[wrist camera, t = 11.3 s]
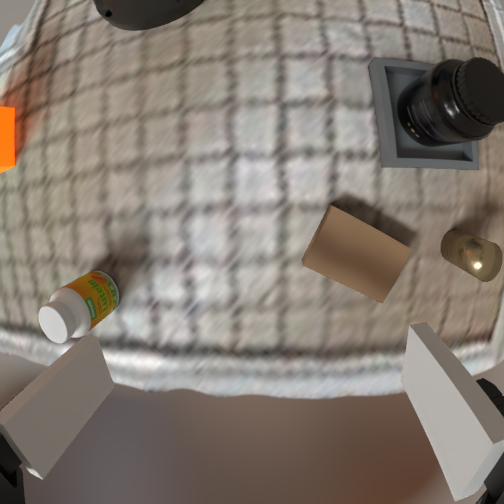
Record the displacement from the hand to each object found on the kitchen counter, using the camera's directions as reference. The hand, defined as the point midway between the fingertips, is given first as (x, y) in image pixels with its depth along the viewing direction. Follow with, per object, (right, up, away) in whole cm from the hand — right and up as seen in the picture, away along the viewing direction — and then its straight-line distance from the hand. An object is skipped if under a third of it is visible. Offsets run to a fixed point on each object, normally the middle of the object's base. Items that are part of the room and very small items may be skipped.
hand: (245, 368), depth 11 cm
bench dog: (+22, +5, +16) cm, 28 cm away
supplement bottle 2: (+17, +18, +13) cm, 28 cm away
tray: (+17, +18, +13) cm, 28 cm away
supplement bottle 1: (-18, 0, +22) cm, 28 cm away
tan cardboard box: (+10, +5, +18) cm, 21 cm away
